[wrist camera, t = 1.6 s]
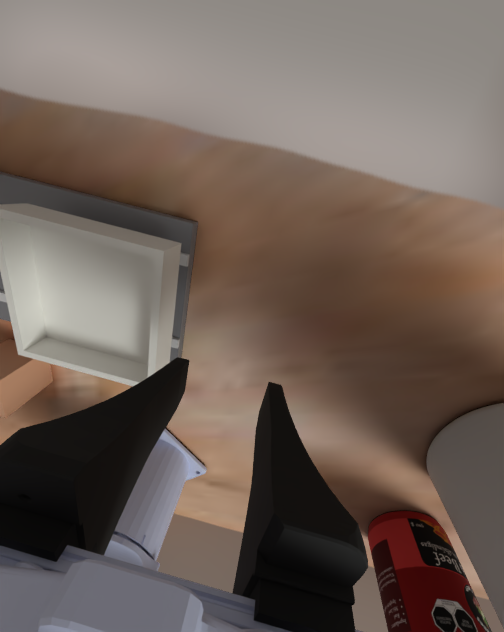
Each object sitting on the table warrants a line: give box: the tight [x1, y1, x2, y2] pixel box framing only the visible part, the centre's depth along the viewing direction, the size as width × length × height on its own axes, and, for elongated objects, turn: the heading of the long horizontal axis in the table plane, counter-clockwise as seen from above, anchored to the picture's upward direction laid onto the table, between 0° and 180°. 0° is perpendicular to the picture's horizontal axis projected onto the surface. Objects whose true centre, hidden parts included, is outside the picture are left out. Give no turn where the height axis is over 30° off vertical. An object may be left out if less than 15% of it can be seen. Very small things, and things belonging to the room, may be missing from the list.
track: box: [0, 172, 198, 362], centre depth 20 cm, size 22×12×3 cm, turn 78°
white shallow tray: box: [0, 203, 181, 386], centre depth 18 cm, size 10×10×4 cm
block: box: [0, 339, 53, 419], centre depth 24 cm, size 4×4×5 cm
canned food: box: [368, 511, 492, 632], centre depth 24 cm, size 8×8×11 cm
